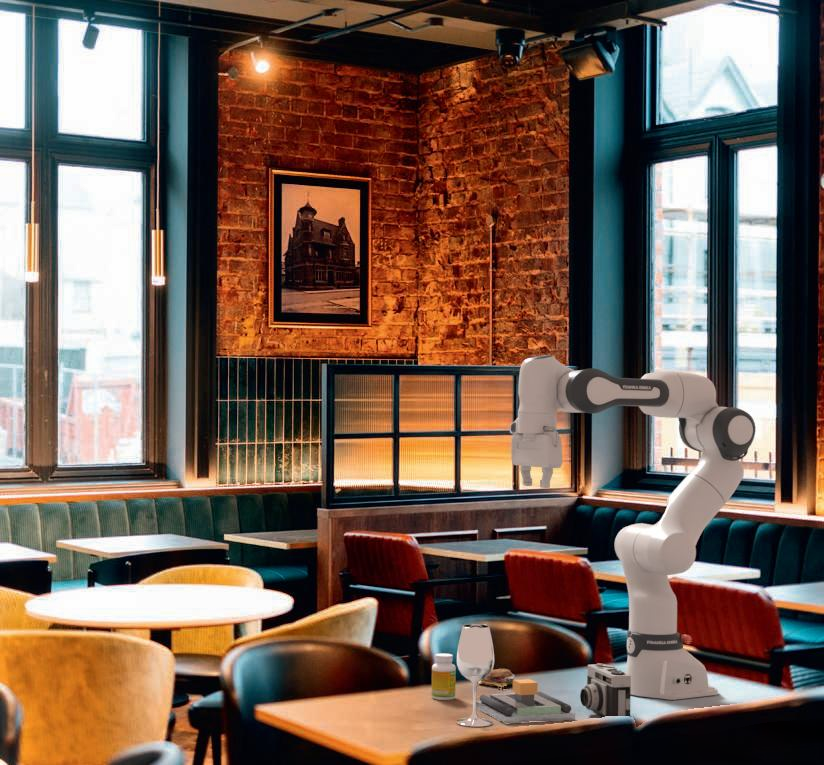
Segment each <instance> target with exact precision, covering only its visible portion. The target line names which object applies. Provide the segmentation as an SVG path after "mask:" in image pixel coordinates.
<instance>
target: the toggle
mask: <svg viewBox="0 0 824 765" xmlns="http://www.w3.org/2000/svg"><path fill="white" fill-rule="evenodd" d="M538 685H539V684H538V682H537V681H535V680H533V679H530V678H525V679H515V680H513V684H512V691H513V692H512V693H516V701H518V702H520V703H522V704H524V705H526V706H528V707H530V706H534V695H535V694H537V692H538Z"/></svg>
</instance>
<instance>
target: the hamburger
mask: <svg viewBox="0 0 824 765" xmlns="http://www.w3.org/2000/svg"><path fill="white" fill-rule="evenodd" d="M515 676H516V675H515V674H513V673H512V672H511V670H510V669H507V668H501V667H500V668H498V669H495V668H493V669H492V671H491V673H490V674H489V675H488V676H487V677H486V678H485V679H483V680H481V681H479V682H478V683H479V684H480V683H481V684H482V685H483V684H485V685H484V686H486V685H490V686H489V687H492V686H498V687H497V688H499V686H500V687H503V688H505V687H506V686H505V685H509V686H510V685H513V680H516V677H515ZM504 686H505V687H504ZM501 690H502V688H501Z"/></svg>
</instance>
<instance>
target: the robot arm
mask: <svg viewBox="0 0 824 765" xmlns="http://www.w3.org/2000/svg"><path fill="white" fill-rule="evenodd" d="M714 384H715V383H713V381H712V380H710V378H709V377H706V376H704V375H700V374H696V373H691V372H686V371H685V372H684V371H676V370H675V371H674V370H673V371H672V370H670V371H669V370H664V371H655V372H654V371H653V372H649V373H645V374H644V375H643V376H641V378H631V377H630V378H629V377H624V378H623V377H615V376H613V375H611V374H609V373H607V372H605V371H604V370H601V369H598V368H593V367H592V368H590V367H589V368H585V369H581V370H574V369H573V368H570V367H568V366H566V365H565V364H563V363H561V362H560V361H559V360H557V359H556V358H555V356H554V355H551V354H549V355H548V354H544V355H538V356H532V357H528V358H526V359H524V360H523V361H522V363H521V365H520V369H519V376H518V387H517V388H518V391H517V394H518V397H519V407H518V410H517V418H516V419H515V420H514V421H513V422H511V423H510V424H509V433H510V434H511V438H510V439H511V440H510V454H511V455H510V457H511V461H512V464H513V465H514V466H519V467H520V468H519V469H520V471H519V472H520V474H521V478H522V485H523V486H524V487H531V486H533V478H532V476H531V471H532V467H533V468H541V473H542V475H541V479H540V480H539V481H540V482H539V484H540V485H539V486H540V488H541V489H550V487H551V480H552V477H553V474H554V469H561V467H562V465H563V445H562V444H563V443H562V439H561V438H562V437H561V436H560V435H559V432H558V431H557V428H558V427H557V422H558V421H557V420H558V419H557V417H558V414H557V413H558V411H561V412H564V413H571V414H572V413H577V414H578V413H579V414H580V413H587V414H598V413H601V412H603V411H605V410H607V409H610V408H613V407H615V406H617V407H618V406H620V407H622V406H623V407H638V408H639V409H640V411H641V412H642V413H643V414H645V415H649V416H652V417H658V418H667V419H669V418H670V419H673V418H674V419H675V418H677V419H678V431H679V438H680V439H681V441H682V443H683V444H684V445H685V446H686V447H687V448H689V449H691V450H694V451H696V452H701V456H700V458H699V460H698V462H697V464H696V466H695V467H694V468H693V469H692V470H690V471H689V473H687V475H686V477H684V478H683V480H682V481H681V482H680V483H679V484H678V485H677V487H676V488H675V489H674V490H673V491H672V492H671V493H670V495H668V497H667V499H666V508H665V511H664V513H663V514H662V517H661V518H660V519H659V521H657V522H656V523H654V524H649V523H643V522H641V523H634V524H630V525H628V526H625V527H622V529H620V531H618V533H617V535H616V537H615V539H614V551H615V554H616V557H617V558H618V559H619V560H620V563H621V566H622V569H623V573H624V577H625V581H626V582H625V583H626V587H627V588H626V589H627V594H628V604H629V605H628V612H629V613H628V614H629V615H628V630H627V631H626V653H627V658H626V659H627V660H626V668H625V672H624V673H626V674H629V675H631V688H630V689H631V694H630V696H631V695H632V696H637V697H643V698H655V699H662V700H668V701H671V700H682V699H684V700H685V699H689V698H690V699H692V698H693V699H694V698H699V697H709V696H717V695H719V694H718V693H719V692H718V691H719V690H718V689H717V687H715V686H713V685H710V684H709V677H708V672H707V669H706V667H705V665H704V664H703V663H702V662H701V661H700V660H698V659H697V658H696V657H694V656H693V655H692V654H691V653H689V652H688V651H687V649H685V647H684V644H686V645H689V644H692V642H693V641H692V640H693V637H691V635H689V634H682V633H680V632H678V600H677V596H676V594H675V592H674V591H673V589H672V587H671V584H670V581H669V577H668V576H671V575H672V576H673V575H678V574H683V573H685V572H687V571H689V570H690V569H691V568H692V566H693V565H694V562H695V560H696V556H697V548H696V546H697V543H698V541H699V539H700V536H701V535H702V533H703V531H704V530H705V528H706V527H707V526H708V524H710V522H711V521H712V520H713V519H714V517H715V516H717V514H718V513H719V511H720V510H722V508H723V507H724V506H725V505H726V504H727V502H728V501H729V500H730V498H731V497H732V495H733V494H734V493H735V492H736V489H738V486H739V485H740V483H741V481H742V480H743V477H744V474H745V472H744V466H743V463H742V462H741V460H742V459H743V458H745V457H746V456H747V454H748V451H749V448H750V447H751V445H752V443H753V442H754V439H755V435H756V423H755V420H754V418H753V417H752V416H751V414H749V413H748V412H747V411H745V410H743V409H741V408H737V407H732V406H730V407H727V406H719V404H718V403H717V390H716V387H715V385H714ZM683 643H684V644H683Z"/></svg>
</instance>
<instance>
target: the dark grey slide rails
mask: <svg viewBox="0 0 824 765" xmlns="http://www.w3.org/2000/svg"><path fill="white" fill-rule="evenodd" d="M537 695H539V696H541V697H543V698H545V699H547V700H549V701H552V702H554V703H556V704H558V705H560V706H561V710H563V711H565V712H570V711H572V706H571V705H570V704H568V703H566V702H563V701H561V700H560V699H557V698H555V697H554V696H550V695H549V694H547V693H544V692H541V691H537ZM479 701H481V702H483V703H485V704H487V705H489V706H491V707H493V708H495V709H496V710H498V711H500V712H502V713H504V714H506V715H508V716H511V715H512V714H513V710H512V709H511V708H509V707H507V706H505V705H503V704H502V703H500V702H498V701H496V700H494V699H492V698H490V696H488V695H486V694H481V695H480V696H479Z"/></svg>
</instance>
